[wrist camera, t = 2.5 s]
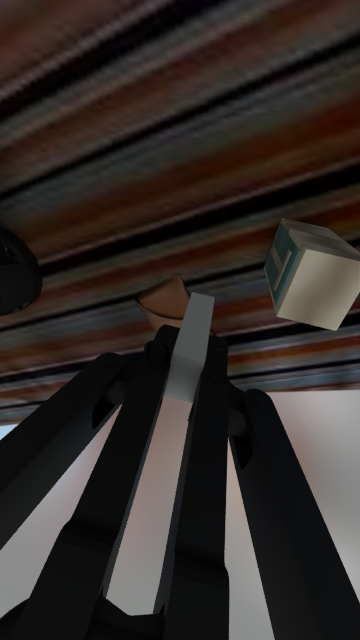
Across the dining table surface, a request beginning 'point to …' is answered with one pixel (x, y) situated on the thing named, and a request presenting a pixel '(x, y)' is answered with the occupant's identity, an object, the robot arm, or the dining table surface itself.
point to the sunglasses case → (165, 303)
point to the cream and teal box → (312, 274)
